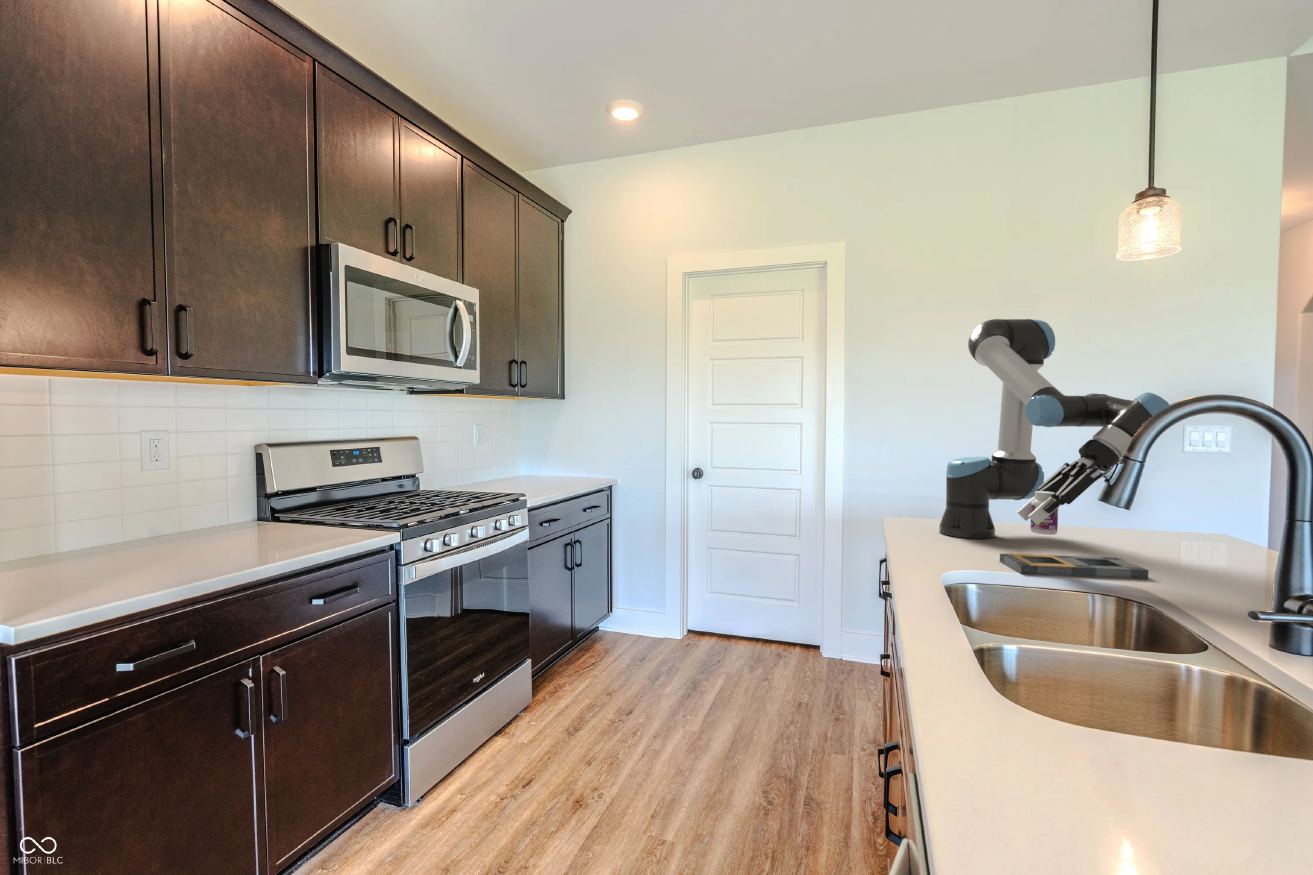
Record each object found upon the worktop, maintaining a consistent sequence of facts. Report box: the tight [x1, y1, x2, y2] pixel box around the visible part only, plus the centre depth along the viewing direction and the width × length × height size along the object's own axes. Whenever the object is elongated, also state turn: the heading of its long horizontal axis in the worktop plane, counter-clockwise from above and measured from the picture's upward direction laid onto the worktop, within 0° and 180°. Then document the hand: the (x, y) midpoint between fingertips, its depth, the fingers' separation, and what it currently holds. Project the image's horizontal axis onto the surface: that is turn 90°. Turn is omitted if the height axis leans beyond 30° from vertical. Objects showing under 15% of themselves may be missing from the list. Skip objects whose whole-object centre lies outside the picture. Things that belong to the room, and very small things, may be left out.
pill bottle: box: [1030, 491, 1059, 536], centre depth 142 cm, size 5×5×10 cm
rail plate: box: [999, 553, 1149, 580], centre depth 142 cm, size 12×26×2 cm, turn 81°
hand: (1027, 518), depth 143 cm, fingers closed on pill bottle, 5 cm apart
